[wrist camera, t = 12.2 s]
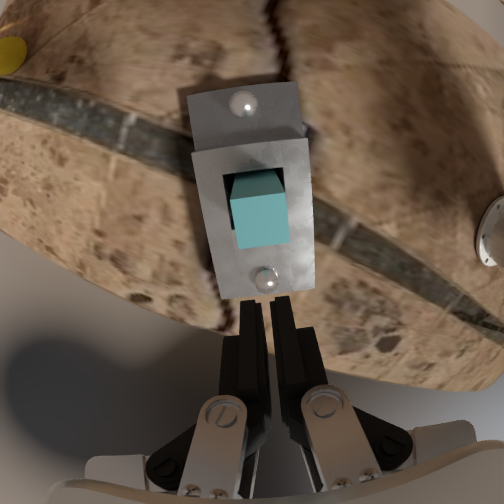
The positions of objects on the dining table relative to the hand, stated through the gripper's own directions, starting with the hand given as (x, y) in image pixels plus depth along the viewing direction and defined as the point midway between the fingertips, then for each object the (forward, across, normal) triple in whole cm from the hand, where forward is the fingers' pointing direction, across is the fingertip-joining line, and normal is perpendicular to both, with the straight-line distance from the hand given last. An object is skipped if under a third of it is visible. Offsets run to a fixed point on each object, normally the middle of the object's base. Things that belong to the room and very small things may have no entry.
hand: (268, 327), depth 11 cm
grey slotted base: (+21, 0, 0) cm, 21 cm away
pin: (+21, 0, 0) cm, 21 cm away
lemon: (+21, +28, -26) cm, 44 cm away
